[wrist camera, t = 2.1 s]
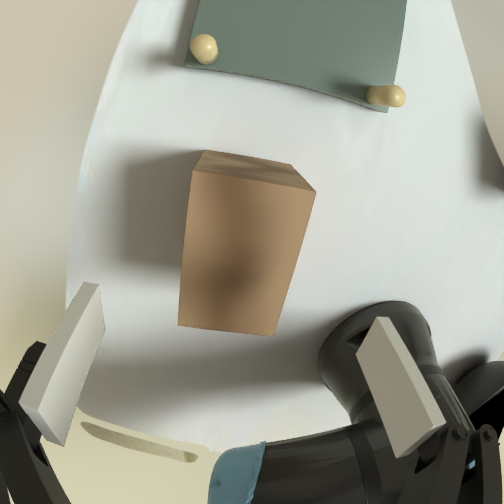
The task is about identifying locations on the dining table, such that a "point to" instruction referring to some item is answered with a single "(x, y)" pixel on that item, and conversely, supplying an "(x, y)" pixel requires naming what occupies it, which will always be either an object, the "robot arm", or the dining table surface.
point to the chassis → (306, 45)
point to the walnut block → (241, 242)
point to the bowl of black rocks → (484, 395)
